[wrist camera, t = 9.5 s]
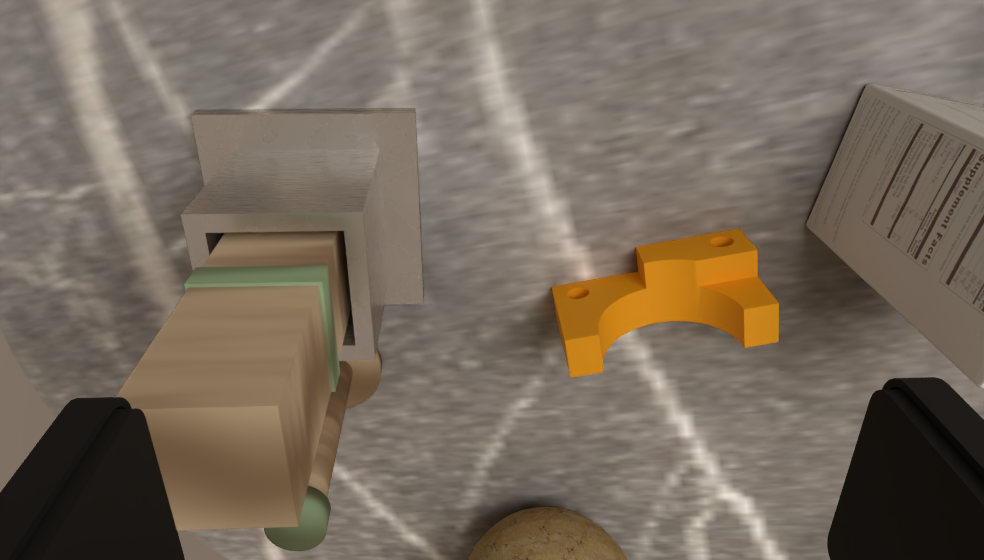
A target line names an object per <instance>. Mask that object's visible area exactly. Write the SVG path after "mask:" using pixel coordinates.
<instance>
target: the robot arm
mask: <svg viewBox="0 0 984 560" xmlns="http://www.w3.org/2000/svg"><path fill="white" fill-rule="evenodd" d="M828 553H829V557H830V560H984V420H983V419H982V418H981V417H980V416H979V415H978V414H977V413H976V412H975V411H974V410H973V409H972V408H971V407H970V406H969V405H968V404H967V403H966V402H965V401H964V400H963V399H962V398H961V397H960V396H959V395H958V394H957V393H956V392H955V391H954V390H953V389H952V388H951V387H950V386H949V385H948V384H947V383H946V382H945V381H943V380H942V379H939V378H935V377H929V378H894V379H891V380H889V381H887V382H886V383H885V384H884V386H883V389H882V390H878V391H875V392H874V393H873V394H872V397H871V399H870V402H869V405H868V408H867V411H866V414H865V418H864V421H863V424H862V427H861V431H860V434H859V437H858V440H857V444H856V447H855V450H854V453H853V457H852V460H851V463H850V466H849V470H848V473H847V476H846V479H845V483H844V486H843V489H842V492H841V495H840V499H839V502H838V505H837V508H836V512H835V515H834V518H833V521H832V525H831V528H830V531H829V534H828ZM0 560H185V559H184V554H183V551H182V547H181V543H180V540H179V536H178V532H177V529H176V525H175V522H174V518H173V514H172V511H171V507H170V504H169V500H168V496H167V493H166V489H165V486H164V482H163V478H162V475H161V471H160V467H159V464H158V460H157V457H156V453H155V449H154V446H153V442H152V439H151V435H150V431H149V428H148V424H147V420H146V417H145V415H144V413H143V411H142V410H141V409H138V408H134V409H132V408H131V406H130V403H129V402H128V401H127V400H126V399H125V398H122V397H106V398H76V399H73V400H71V401H70V402H69V403H68V404H67V405H66V406H65V407H64V409H63V410H62V411H61V413H60V414H59V415H58V417H57V418H56V419H55V421H54V422H53V423H52V425H51V426H50V427H49V429H48V430H47V431H46V433H45V434H44V435H43V437H42V438H41V439H40V440H39V442H38V443H37V444H36V446H35V447H34V449H33V450H32V451H31V453H30V454H29V455H28V457H27V458H26V459H25V460H24V462H23V463H22V465H21V466H20V467H19V468H18V470H17V471H16V473H15V474H14V475H13V476H12V478H11V479H10V481H9V482H8V483H7V484H6V486H5V487H4V488H3V490H2V491H1V492H0Z"/></svg>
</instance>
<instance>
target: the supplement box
mask: <svg viewBox="0 0 984 560" xmlns="http://www.w3.org/2000/svg"><path fill="white" fill-rule="evenodd" d="M806 226H807V228H808V229H809V230H811V231H812V232H813V233H814V234H815V235H816V236H817V237H818V238H819V239H820V240H821V241H822V242H823V243H825V244H826V245H827V246H828V247H829V248H830V249H831V250H832V251H833V252H834V253H835V254H836V255H838V256H839V257H840V258H841V259H842V260H843V261H844V262H845V263H846V264H847V265H848V266H849V267H850V268H851V269H853V270H854V271H855V272H856V273H857V274H858V275H859V276H860V277H861V278H862V279H863V280H864V281H865V282H867V283H868V284H869V285H870V286H871V287H872V288H873V289H874V290H875V291H876V292H877V293H878V294H880V295H881V296H882V297H883V298H884V299H885V300H886V301H887V302H888V303H889V304H890V305H891V306H892V307H893V308H895V309H896V310H897V311H898V312H899V313H900V314H901V315H902V316H903V317H904V318H905V319H906V320H907V321H908V322H909V323H911V324H912V325H913V326H914V327H915V328H916V329H917V330H918V331H919V332H920V333H921V334H922V335H923V336H925V337H926V338H927V339H928V340H929V341H930V342H931V343H932V344H933V345H934V346H935V347H936V348H937V349H938V350H940V351H941V352H942V353H943V354H944V355H945V356H946V357H947V358H948V359H949V360H950V361H951V362H952V363H953V364H954V365H955V366H957V367H958V368H959V369H960V370H961V371H962V372H963V373H964V374H965V375H966V376H967V377H968V378H969V379H970V380H971V381H972V382H974V383H975V384H976V385H977V386H978V387H980V388H984V105H980V104H975V103H970V102H965V101H959V100H953V99H948V98H942V97H937V96H932V95H927V94H922V93H917V92H912V91H907V90H902V89H897V88H892V87H887V86H882V85H876V84H867V85H866V87H865V89H864V91H863V93H862V96H861V98H860V100H859V103H858V105H857V107H856V110H855V112H854V114H853V117H852V119H851V121H850V124H849V126H848V128H847V131H846V133H845V135H844V138H843V140H842V142H841V145H840V147H839V149H838V152H837V154H836V156H835V159H834V161H833V163H832V166H831V168H830V170H829V173H828V175H827V177H826V180H825V182H824V184H823V186H822V189H821V191H820V193H819V196H818V198H817V200H816V203H815V205H814V207H813V210H812V212H811V214H810V216H809V219H808V221H807V223H806Z"/></svg>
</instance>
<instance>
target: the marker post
mask: <svg viewBox="0 0 984 560" xmlns="http://www.w3.org/2000/svg"><path fill="white" fill-rule="evenodd" d="M339 367H340V374H339V379H338V383H337V387H336V391H335V392H331V394H330V398H329V402H328V406H327V410H326V414H325V418H324V422H323V427H322V431H321V435H320V439H319V443H318V447H317V451H316V455H315V459H314V463H313V467H312V472H311V476H310V480H309V484H308V488H307V492H306V496H305V500H304V504H303V508H302V512H301V517H300V521H299V525H298V527H272V528H264V531H265V534H266V536H267V538H268V539H269V540H270V541H271V542H272V543H273V544H275V545H276V546H278V547H280V548H283V549H286V550H290V551H304V550H309V549H312V548H314V547H316V546H317V545H319V544H320V543H321V542H322V541H323V539H324V538H325V535H326V530H327V525H328V520H329V515H330V510H331V506H330V502H329V500H328V498H327V496H328V491H329V486H330V481H331V476H332V472H333V467H334V462H335V457H336V452H337V448H338V443H339V438H340V433H341V428H342V424H343V419H344V414H345V409H346V408H350V407H354V406H357V405H359V404H361V403H363V402H364V401H366V400H367V399H368V398H370V397H371V396H372V395H373V393H374V392H375V391H376V389H377V387H378V385H379V382H380V376H381V369H382V361H381V356H380V353H379V351H378V349H377V352H376V358H375V360H364V361H339Z"/></svg>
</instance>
